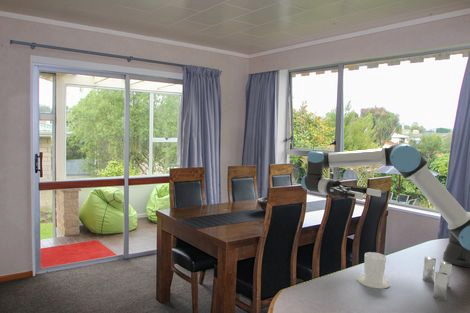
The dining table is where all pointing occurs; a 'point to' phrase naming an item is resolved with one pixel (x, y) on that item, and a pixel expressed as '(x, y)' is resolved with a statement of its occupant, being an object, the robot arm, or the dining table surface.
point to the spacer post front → (440, 286)
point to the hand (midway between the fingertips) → (371, 195)
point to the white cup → (374, 267)
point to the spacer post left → (429, 269)
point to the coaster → (378, 286)
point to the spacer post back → (446, 270)
